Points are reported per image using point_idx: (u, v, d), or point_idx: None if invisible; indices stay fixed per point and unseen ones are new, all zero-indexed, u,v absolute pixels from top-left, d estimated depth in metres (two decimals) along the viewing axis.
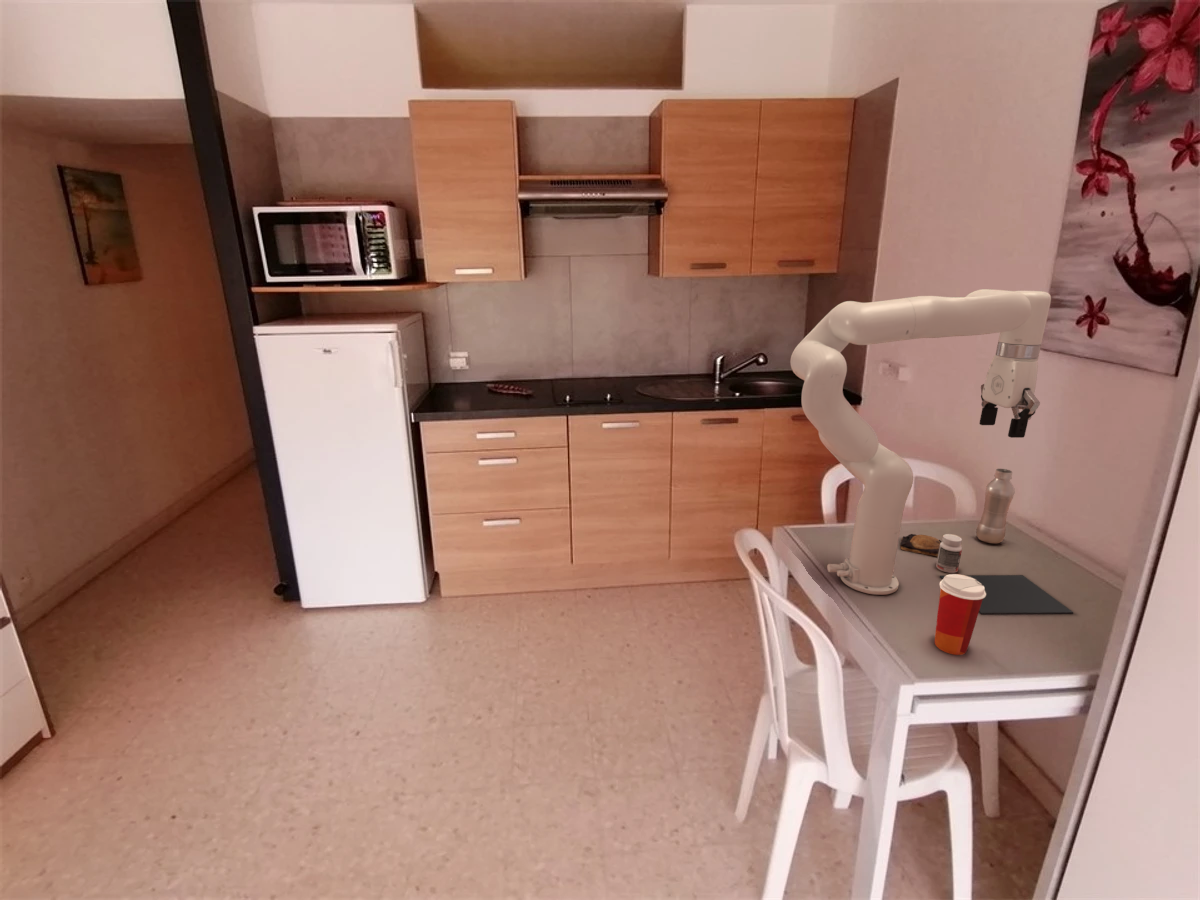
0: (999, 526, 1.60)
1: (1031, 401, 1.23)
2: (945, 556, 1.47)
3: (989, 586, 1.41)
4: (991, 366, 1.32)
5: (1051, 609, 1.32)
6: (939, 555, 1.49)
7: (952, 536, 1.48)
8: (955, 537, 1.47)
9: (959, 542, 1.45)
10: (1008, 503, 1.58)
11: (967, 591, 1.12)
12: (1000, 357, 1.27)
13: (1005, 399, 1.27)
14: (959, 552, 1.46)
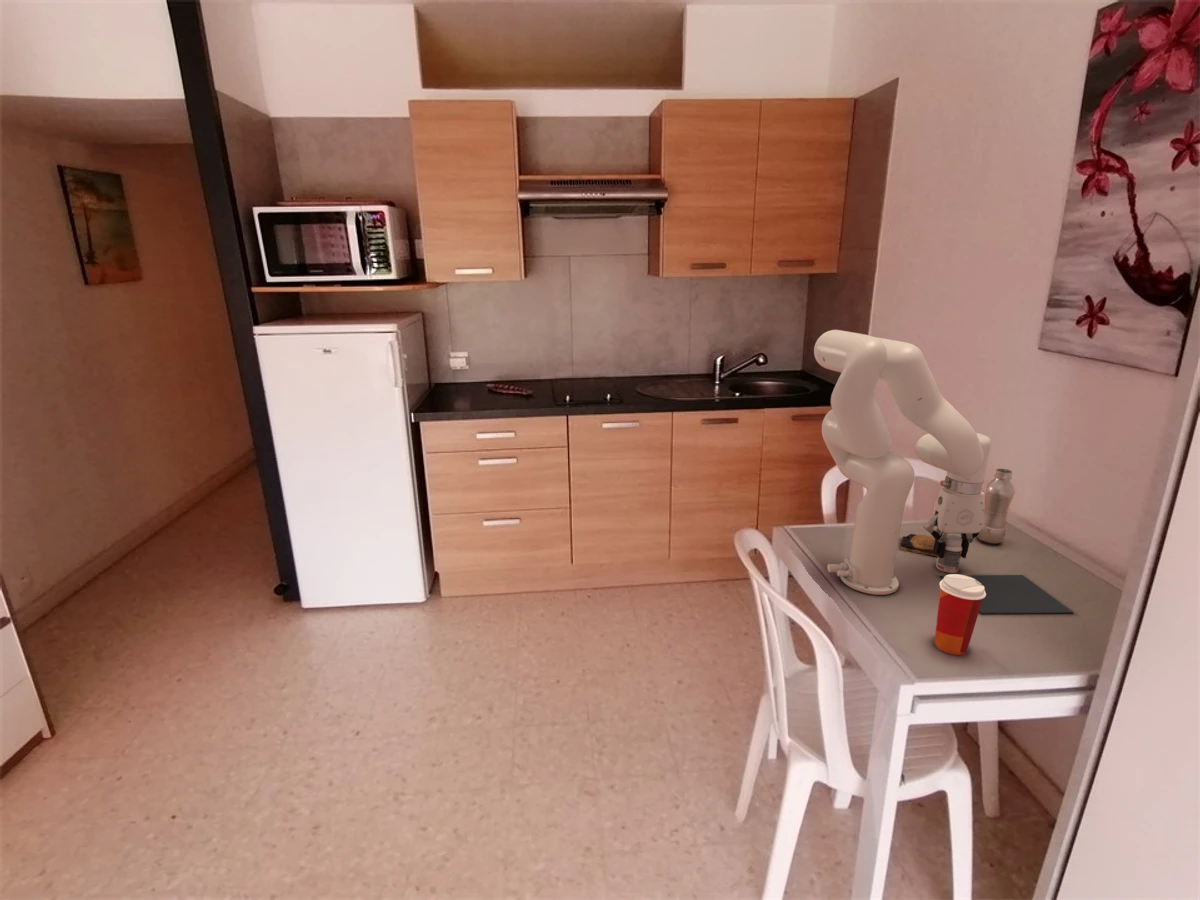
0: (999, 526, 1.60)
1: (984, 526, 1.46)
2: (945, 556, 1.47)
3: (989, 586, 1.41)
4: (952, 504, 1.42)
5: (1051, 609, 1.32)
6: None
7: (952, 536, 1.48)
8: (956, 537, 1.47)
9: (959, 542, 1.45)
10: (1008, 503, 1.58)
11: (967, 591, 1.12)
12: (973, 495, 1.40)
13: (976, 526, 1.43)
14: (959, 552, 1.46)
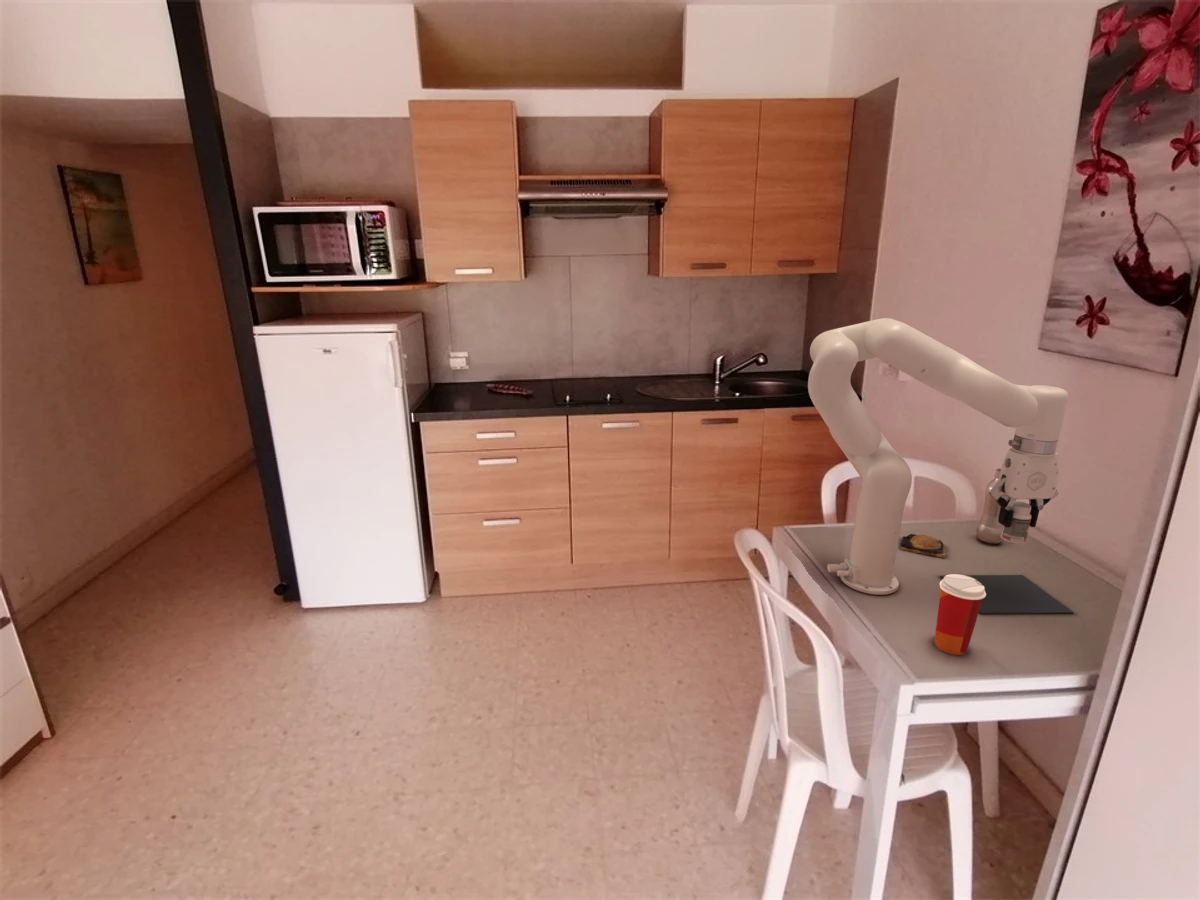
0: (999, 526, 1.60)
1: (1056, 492, 1.31)
2: (1013, 525, 1.32)
3: (989, 586, 1.41)
4: (1022, 465, 1.27)
5: (1051, 609, 1.32)
6: None
7: (1020, 503, 1.33)
8: (1024, 504, 1.32)
9: (1029, 509, 1.31)
10: None
11: (967, 591, 1.12)
12: (1048, 455, 1.25)
13: (1049, 491, 1.28)
14: (1028, 520, 1.31)
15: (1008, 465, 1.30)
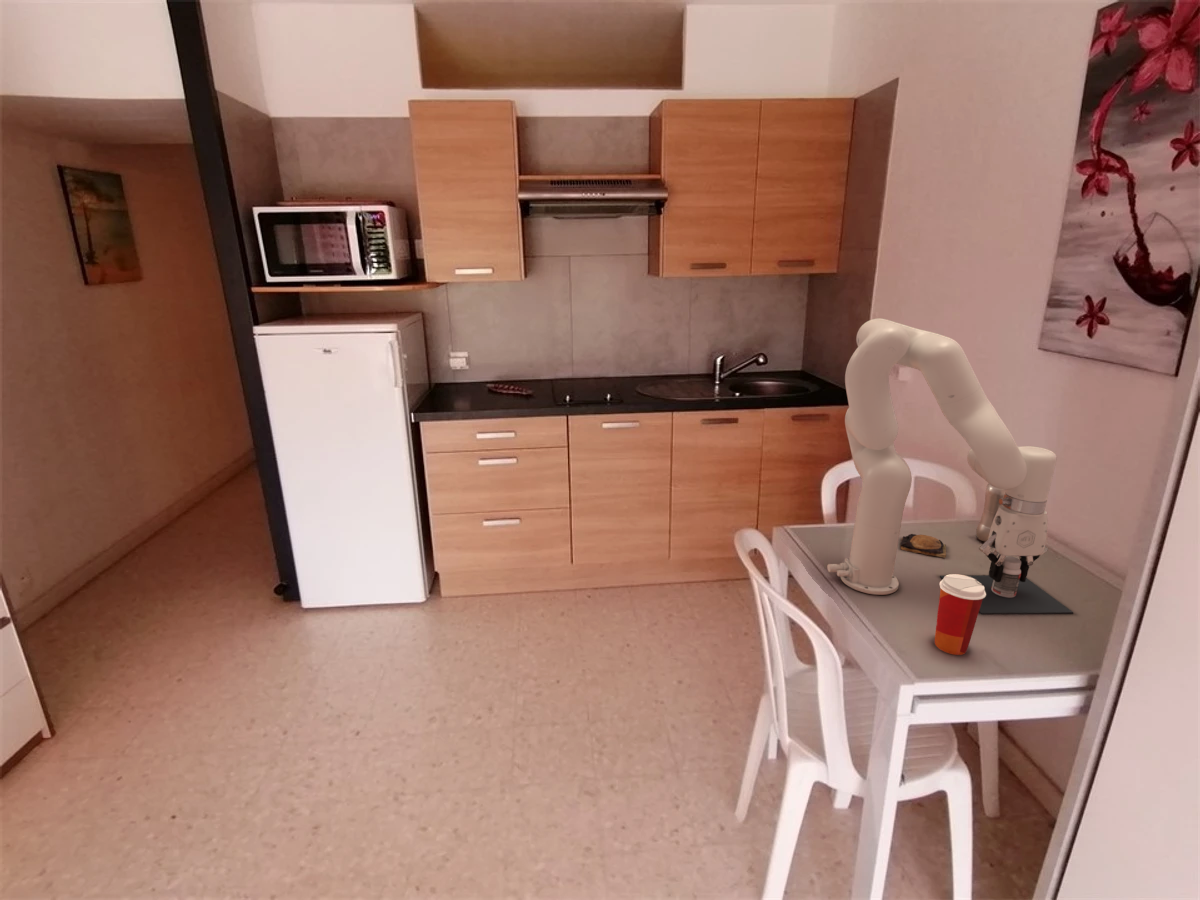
0: None
1: (1045, 548, 1.34)
2: (1003, 580, 1.35)
3: (989, 586, 1.41)
4: (1012, 524, 1.30)
5: (1051, 609, 1.32)
6: None
7: (1010, 558, 1.36)
8: (1014, 559, 1.36)
9: (1018, 565, 1.34)
10: None
11: (967, 591, 1.12)
12: (1037, 515, 1.28)
13: (1038, 549, 1.32)
14: (1018, 575, 1.34)
15: (998, 522, 1.34)
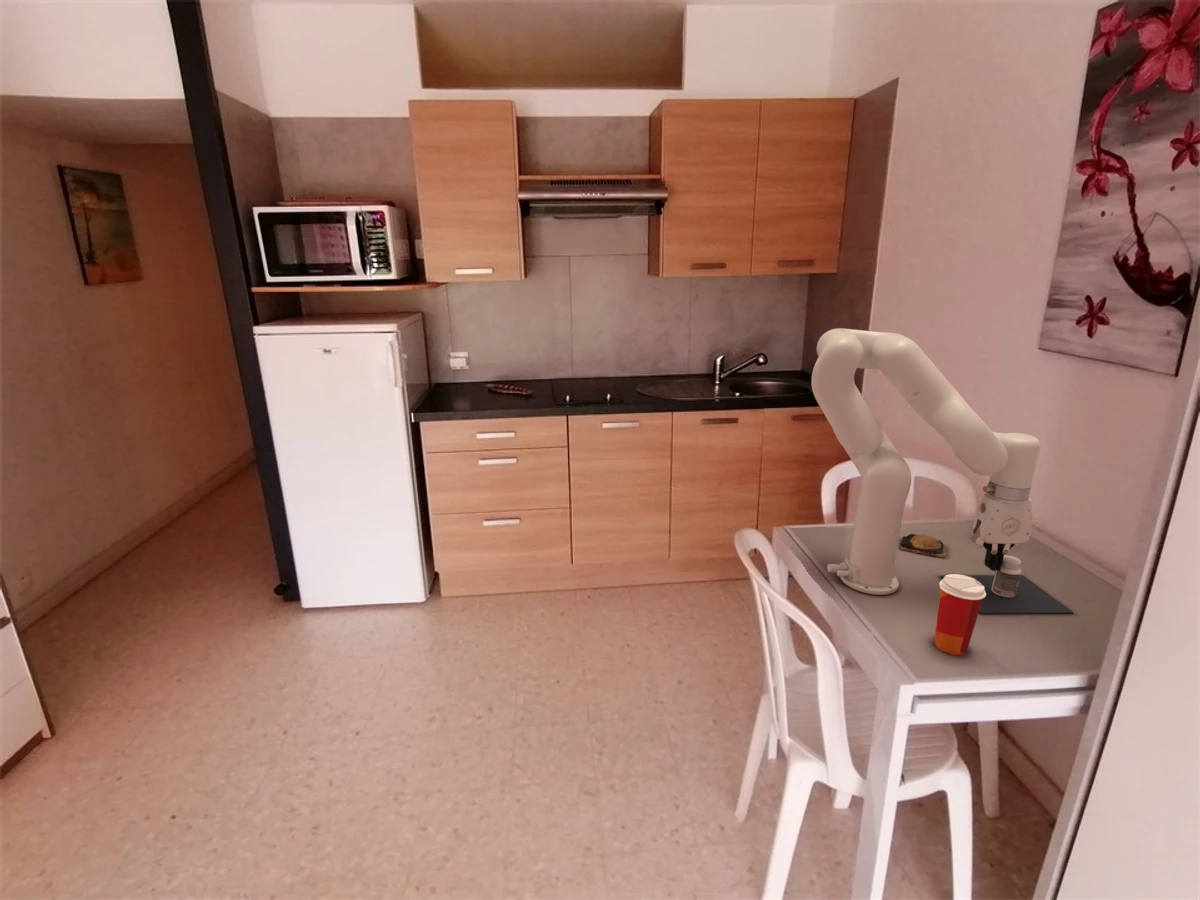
0: None
1: None
2: (1003, 580, 1.35)
3: (989, 586, 1.41)
4: (996, 511, 1.29)
5: (1051, 609, 1.32)
6: (995, 578, 1.37)
7: (1010, 558, 1.36)
8: (1014, 559, 1.36)
9: (1018, 565, 1.34)
10: None
11: (967, 591, 1.12)
12: (1021, 502, 1.27)
13: (1023, 536, 1.31)
14: (1018, 575, 1.34)
15: (983, 510, 1.33)
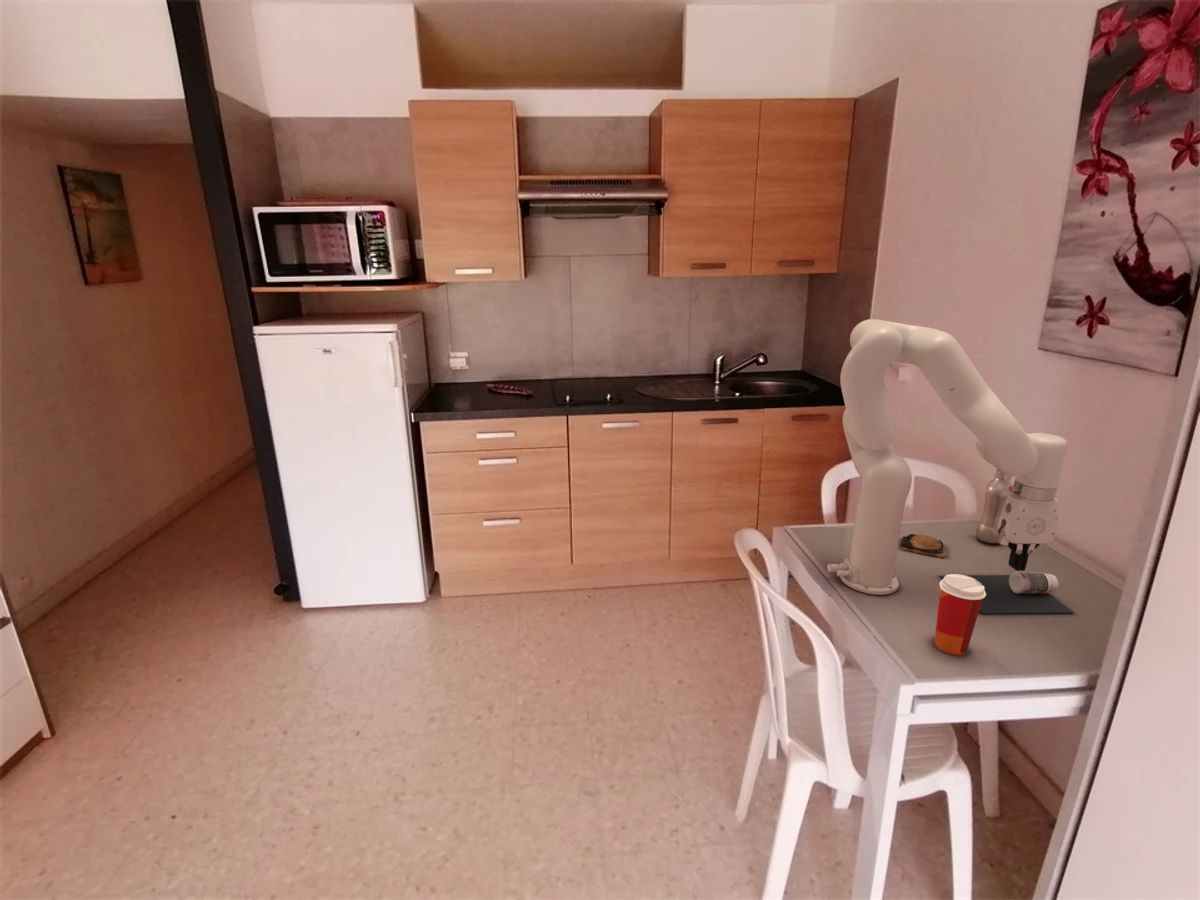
0: None
1: None
2: (1038, 578, 1.36)
3: (989, 586, 1.41)
4: (1022, 511, 1.29)
5: (1051, 609, 1.32)
6: (1031, 572, 1.37)
7: None
8: None
9: (1055, 589, 1.36)
10: None
11: (967, 591, 1.12)
12: (1047, 502, 1.27)
13: (1048, 536, 1.31)
14: (1045, 590, 1.36)
15: (1008, 510, 1.33)
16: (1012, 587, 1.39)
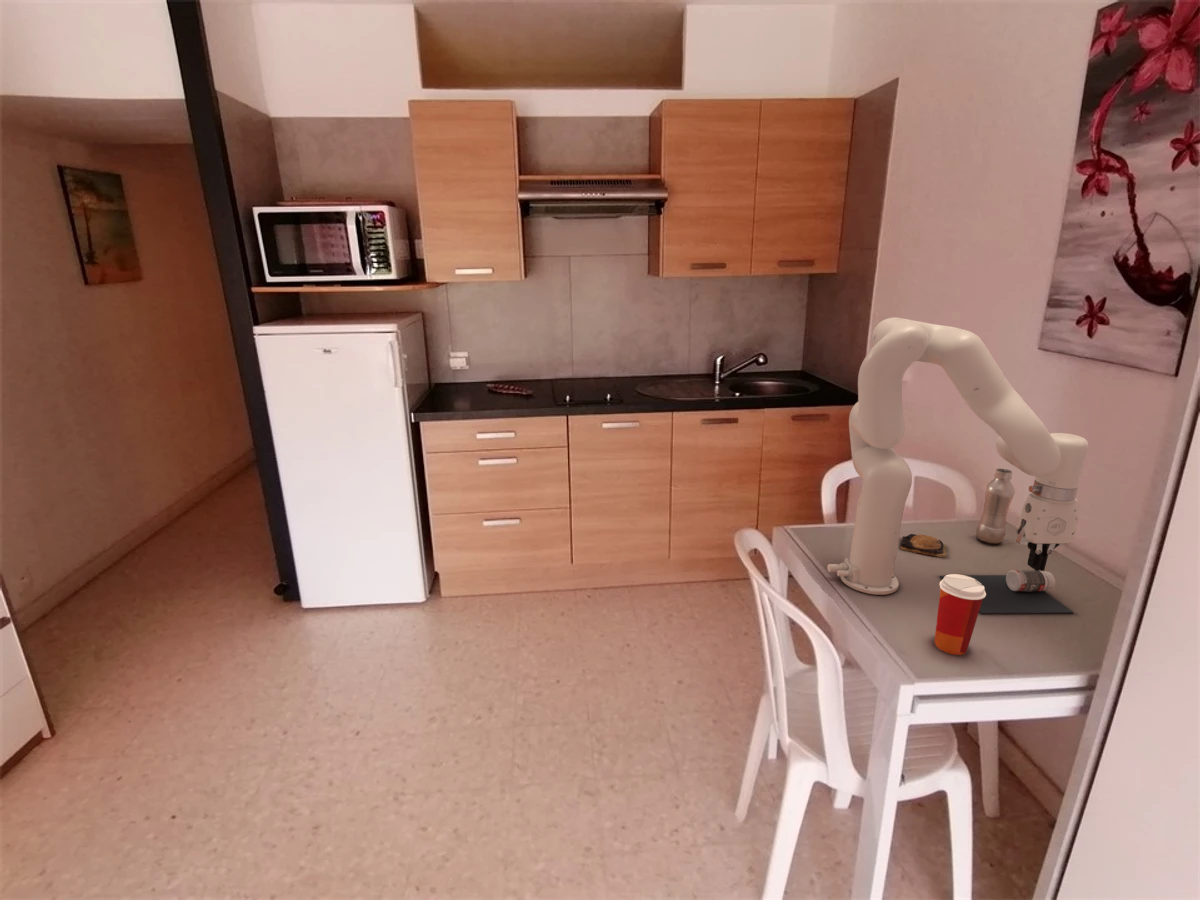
0: (999, 526, 1.60)
1: None
2: (1033, 572, 1.38)
3: (989, 586, 1.41)
4: (1042, 511, 1.29)
5: (1051, 609, 1.32)
6: (1025, 570, 1.39)
7: None
8: None
9: (1053, 583, 1.37)
10: (1008, 503, 1.58)
11: (967, 591, 1.12)
12: (1068, 502, 1.28)
13: (1068, 536, 1.31)
14: (1043, 584, 1.36)
15: (1028, 510, 1.33)
16: (1011, 587, 1.39)
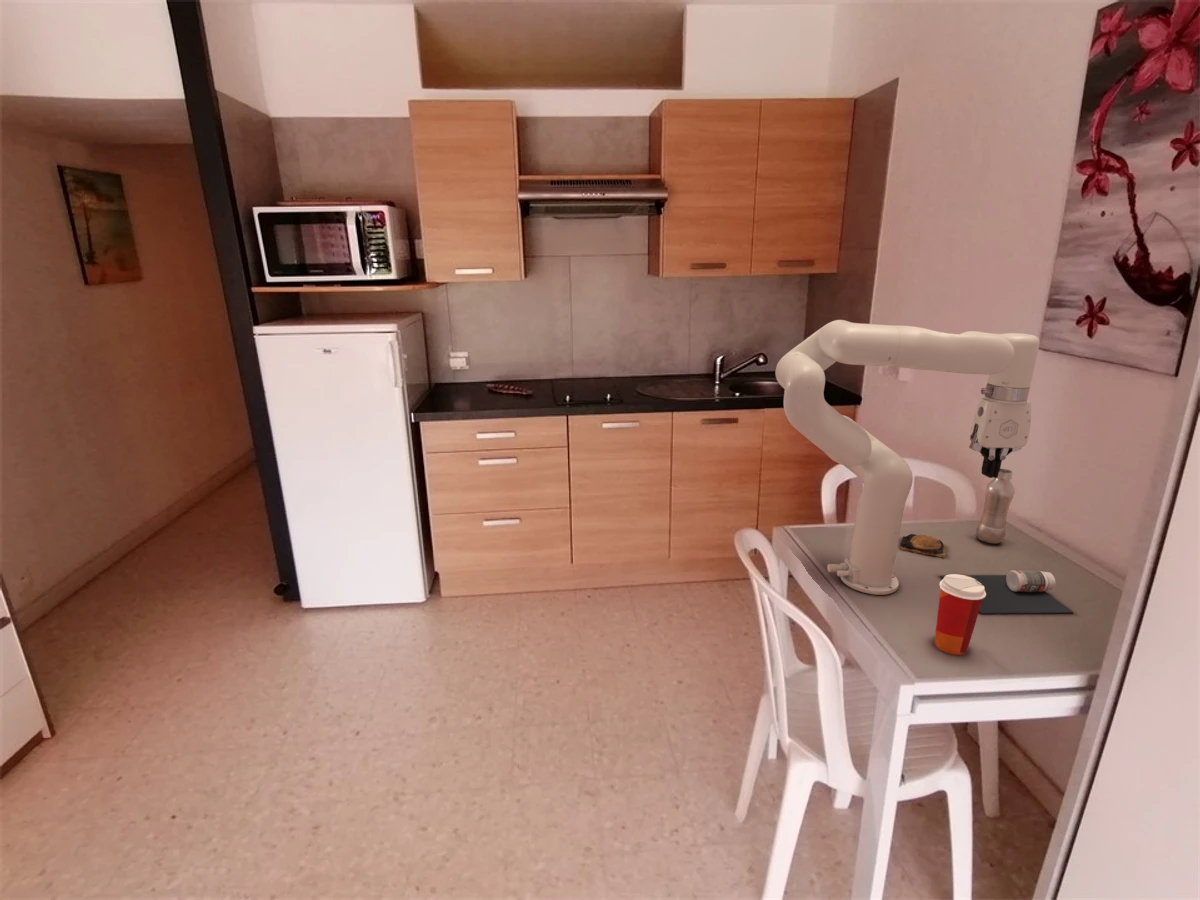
0: (999, 526, 1.60)
1: None
2: (1033, 573, 1.37)
3: (989, 586, 1.41)
4: (994, 413, 1.27)
5: (1051, 609, 1.32)
6: (1026, 570, 1.39)
7: None
8: None
9: (1053, 584, 1.37)
10: (1008, 503, 1.58)
11: (967, 591, 1.12)
12: (1019, 402, 1.25)
13: (1021, 440, 1.28)
14: (1043, 585, 1.36)
15: (981, 414, 1.30)
16: (1011, 587, 1.39)
